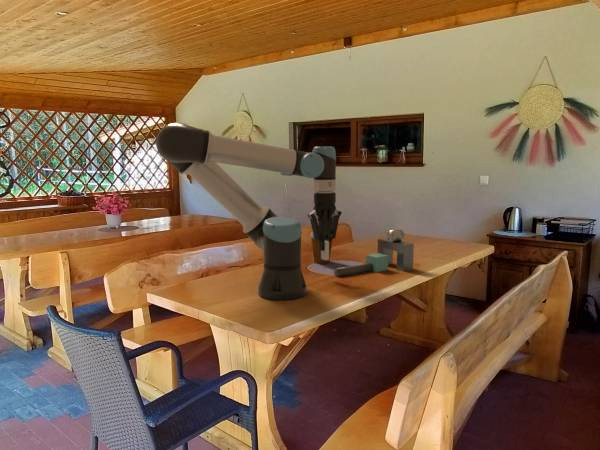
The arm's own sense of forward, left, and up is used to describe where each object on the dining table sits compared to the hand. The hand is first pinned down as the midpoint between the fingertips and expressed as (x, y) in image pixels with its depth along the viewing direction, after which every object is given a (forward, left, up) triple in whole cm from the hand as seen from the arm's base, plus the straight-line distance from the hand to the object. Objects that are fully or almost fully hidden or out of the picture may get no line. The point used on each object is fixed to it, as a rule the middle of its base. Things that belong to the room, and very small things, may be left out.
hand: (325, 259), depth 171 cm
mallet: (+16, 0, -7) cm, 18 cm away
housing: (+33, 0, -7) cm, 34 cm away
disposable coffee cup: (+14, +22, -7) cm, 27 cm away
